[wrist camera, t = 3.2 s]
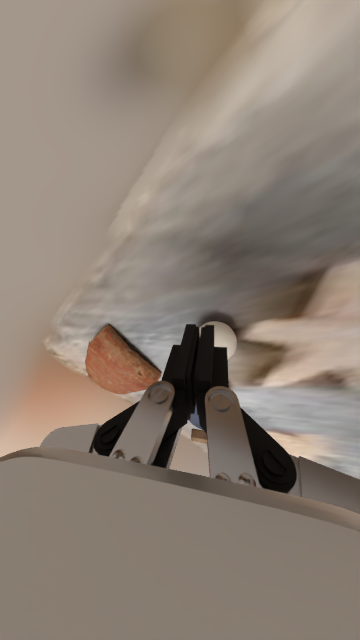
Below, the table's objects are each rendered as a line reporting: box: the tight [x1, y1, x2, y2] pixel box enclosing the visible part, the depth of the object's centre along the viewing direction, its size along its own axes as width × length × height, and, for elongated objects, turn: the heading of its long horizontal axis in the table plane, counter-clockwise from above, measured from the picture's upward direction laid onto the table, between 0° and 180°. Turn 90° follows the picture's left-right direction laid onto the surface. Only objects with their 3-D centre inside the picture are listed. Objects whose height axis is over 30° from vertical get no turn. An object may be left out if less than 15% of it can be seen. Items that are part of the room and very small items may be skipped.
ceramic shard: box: [85, 325, 161, 394], centre depth 37 cm, size 15×6×15 cm
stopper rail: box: [191, 429, 207, 443], centre depth 46 cm, size 12×2×2 cm, turn 96°
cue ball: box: [199, 321, 237, 360], centre depth 26 cm, size 6×6×6 cm
